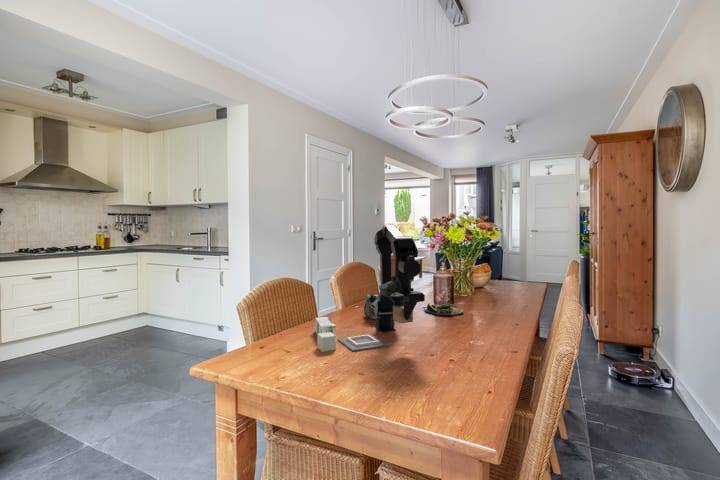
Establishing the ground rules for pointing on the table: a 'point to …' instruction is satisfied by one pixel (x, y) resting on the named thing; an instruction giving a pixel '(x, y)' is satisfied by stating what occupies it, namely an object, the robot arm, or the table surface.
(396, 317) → the walnut block
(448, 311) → the salad plate
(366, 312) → the lucky cat figurine
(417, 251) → the robot arm
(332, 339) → the sage block
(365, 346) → the square panel
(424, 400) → the table surface
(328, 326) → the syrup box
